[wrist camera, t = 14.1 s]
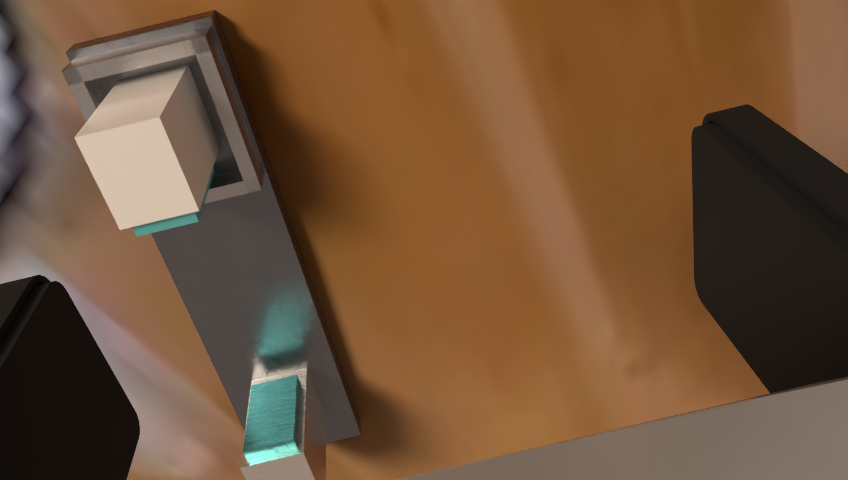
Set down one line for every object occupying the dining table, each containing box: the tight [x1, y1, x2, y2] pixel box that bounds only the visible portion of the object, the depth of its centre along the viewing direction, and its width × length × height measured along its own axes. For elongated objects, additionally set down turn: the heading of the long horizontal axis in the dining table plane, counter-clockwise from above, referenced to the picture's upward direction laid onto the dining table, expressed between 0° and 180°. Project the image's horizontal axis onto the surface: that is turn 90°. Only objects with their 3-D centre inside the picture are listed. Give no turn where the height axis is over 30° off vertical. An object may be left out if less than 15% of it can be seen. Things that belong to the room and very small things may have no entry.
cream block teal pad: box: [75, 65, 220, 236], centre depth 38 cm, size 4×6×8 cm
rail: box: [62, 10, 361, 480], centre depth 45 cm, size 32×8×10 cm, turn 12°
